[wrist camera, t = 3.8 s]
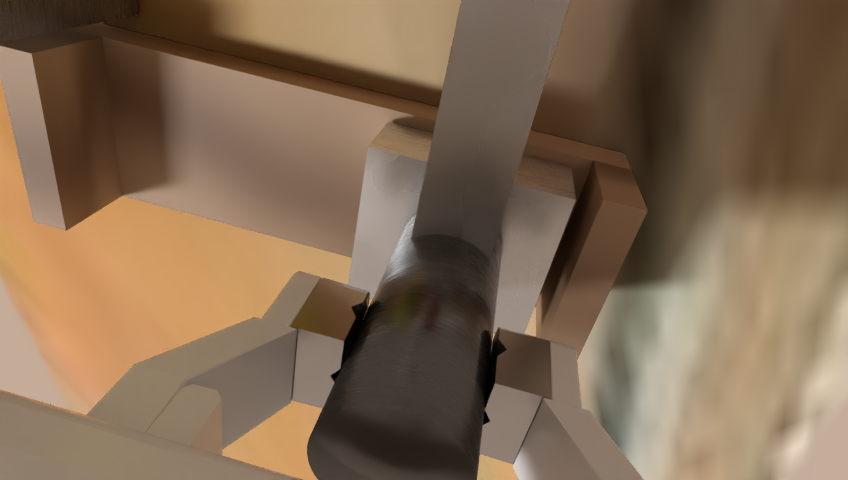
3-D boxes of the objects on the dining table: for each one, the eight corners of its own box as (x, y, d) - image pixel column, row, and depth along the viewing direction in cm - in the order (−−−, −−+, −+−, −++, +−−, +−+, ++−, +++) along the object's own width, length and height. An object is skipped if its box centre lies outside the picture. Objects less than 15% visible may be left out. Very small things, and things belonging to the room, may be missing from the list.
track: (99, 22, 16) (-7, 43, 13) (625, 153, 15) (648, 210, 12) (118, 174, 18) (33, 221, 15) (565, 293, 17) (572, 370, 14)
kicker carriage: (460, -322, 10) (232, -1087, 2) (730, -268, 9) (1387, -959, 2) (367, 253, 17) (232, 506, 9) (523, 295, 16) (511, 591, 9)
